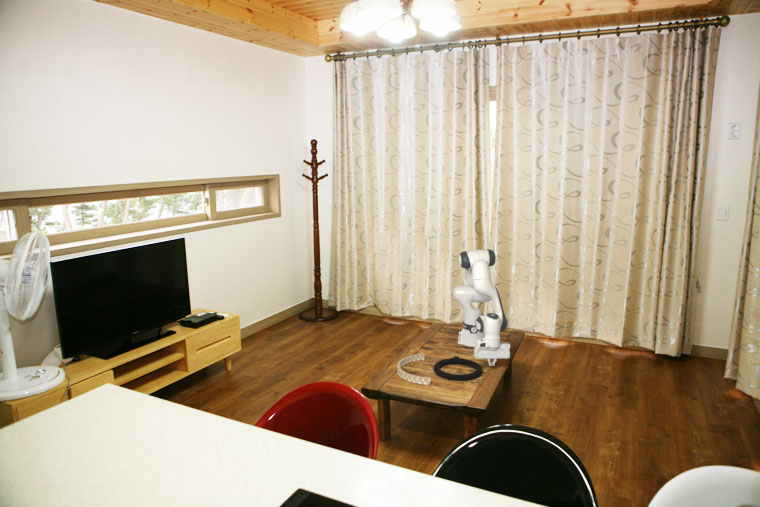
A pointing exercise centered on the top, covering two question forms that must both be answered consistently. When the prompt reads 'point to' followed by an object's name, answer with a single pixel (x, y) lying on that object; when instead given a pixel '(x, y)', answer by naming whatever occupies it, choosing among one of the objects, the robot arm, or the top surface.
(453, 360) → the cable lock
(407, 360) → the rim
